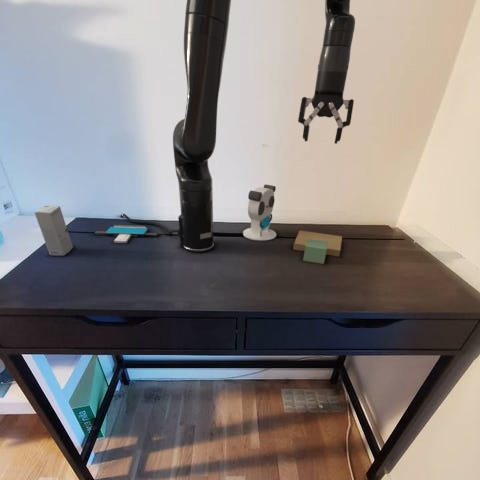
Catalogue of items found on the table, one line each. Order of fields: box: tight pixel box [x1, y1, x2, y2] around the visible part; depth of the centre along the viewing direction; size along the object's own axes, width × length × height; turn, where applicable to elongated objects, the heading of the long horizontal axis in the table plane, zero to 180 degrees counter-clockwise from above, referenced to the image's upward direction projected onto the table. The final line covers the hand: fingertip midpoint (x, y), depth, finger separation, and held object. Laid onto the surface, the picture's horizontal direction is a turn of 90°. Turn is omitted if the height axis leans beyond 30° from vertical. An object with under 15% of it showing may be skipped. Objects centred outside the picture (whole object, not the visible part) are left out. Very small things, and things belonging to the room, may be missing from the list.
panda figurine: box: [242, 184, 277, 242], centre depth 102 cm, size 12×11×15 cm
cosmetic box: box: [34, 205, 74, 257], centre depth 86 cm, size 6×4×12 cm
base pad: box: [292, 230, 343, 257], centre depth 100 cm, size 14×12×2 cm
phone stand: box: [94, 224, 159, 244], centre depth 100 cm, size 20×12×2 cm, turn 90°
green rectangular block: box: [302, 239, 328, 265], centre depth 93 cm, size 6×10×4 cm, turn 163°
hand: (320, 142), depth 90 cm, fingers open, 8 cm apart
